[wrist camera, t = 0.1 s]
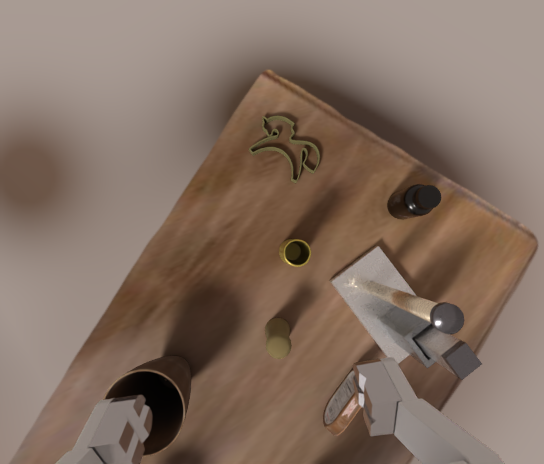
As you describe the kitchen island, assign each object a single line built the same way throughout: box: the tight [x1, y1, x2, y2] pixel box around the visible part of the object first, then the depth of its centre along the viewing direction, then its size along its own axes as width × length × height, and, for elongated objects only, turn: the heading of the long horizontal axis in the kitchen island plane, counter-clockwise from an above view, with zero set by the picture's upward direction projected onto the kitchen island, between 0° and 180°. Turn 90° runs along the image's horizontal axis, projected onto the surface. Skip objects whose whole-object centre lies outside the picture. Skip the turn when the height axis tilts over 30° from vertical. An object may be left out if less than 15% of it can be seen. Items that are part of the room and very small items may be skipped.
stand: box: [330, 246, 464, 368], centre depth 50 cm, size 24×14×29 cm, turn 37°
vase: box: [279, 239, 311, 267], centre depth 58 cm, size 6×6×14 cm
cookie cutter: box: [249, 116, 320, 183], centre depth 66 cm, size 18×12×2 cm, turn 55°
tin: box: [323, 370, 362, 436], centre depth 59 cm, size 15×3×8 cm, turn 143°
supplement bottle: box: [387, 184, 441, 219], centre depth 60 cm, size 7×7×12 cm
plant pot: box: [103, 356, 191, 457], centre depth 55 cm, size 15×15×16 cm
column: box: [412, 325, 482, 380], centre depth 51 cm, size 4×4×20 cm
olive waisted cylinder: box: [265, 318, 291, 359], centre depth 58 cm, size 6×6×11 cm
